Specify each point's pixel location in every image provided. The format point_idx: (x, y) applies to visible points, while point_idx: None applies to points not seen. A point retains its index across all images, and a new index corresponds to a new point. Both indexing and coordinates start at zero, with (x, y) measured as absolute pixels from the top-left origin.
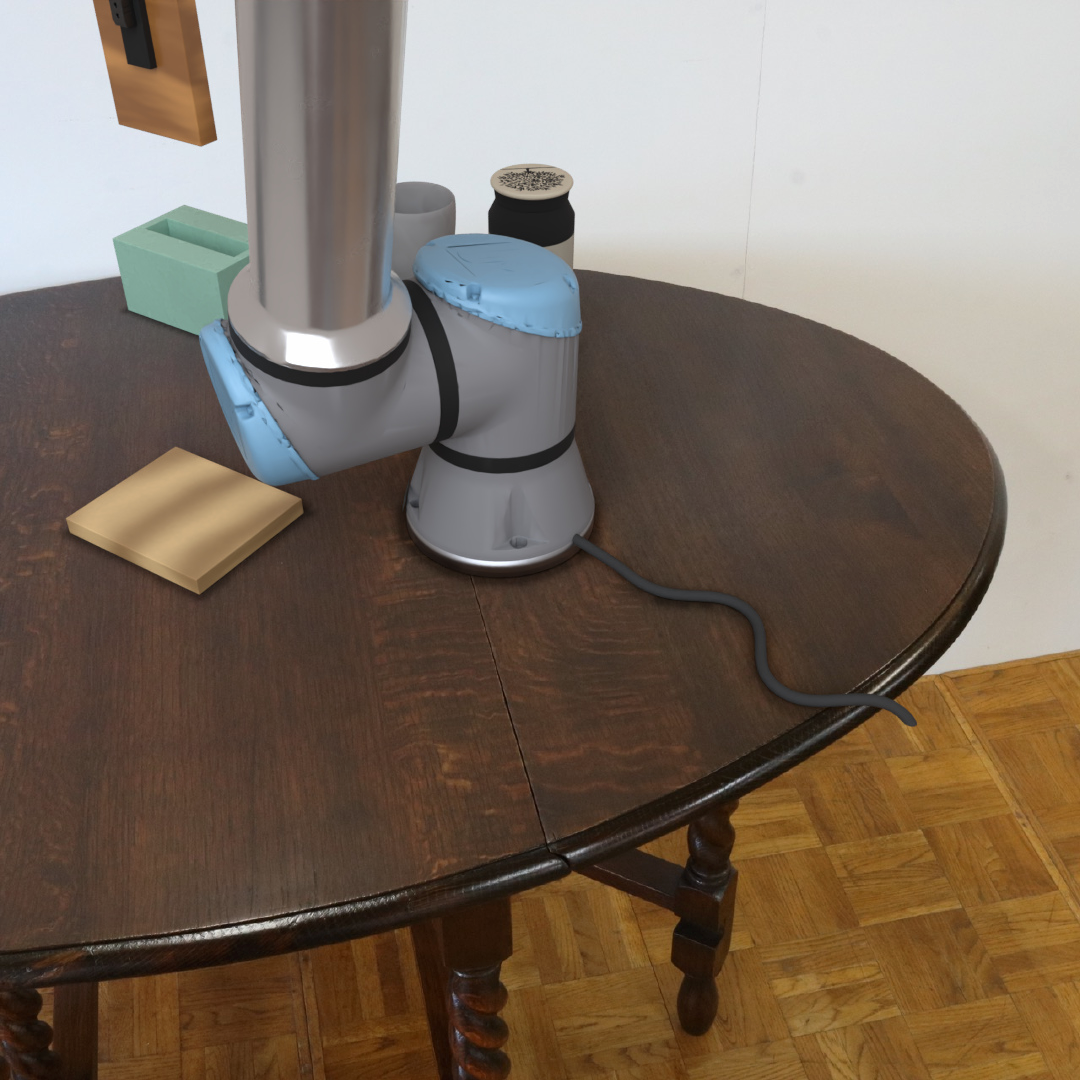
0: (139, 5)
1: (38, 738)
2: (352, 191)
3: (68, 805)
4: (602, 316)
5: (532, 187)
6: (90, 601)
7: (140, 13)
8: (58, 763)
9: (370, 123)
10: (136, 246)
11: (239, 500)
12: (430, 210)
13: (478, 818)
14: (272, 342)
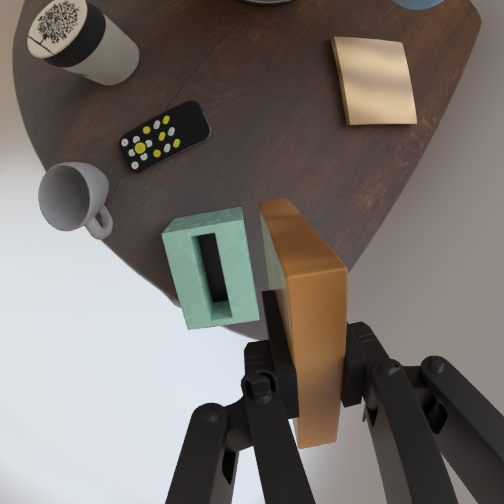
0: (353, 333)
1: (462, 53)
2: None
3: (464, 29)
4: (57, 74)
5: (68, 9)
6: (427, 82)
7: (348, 326)
8: (461, 41)
9: None
10: (255, 298)
11: (357, 60)
12: (53, 206)
13: None
14: None
